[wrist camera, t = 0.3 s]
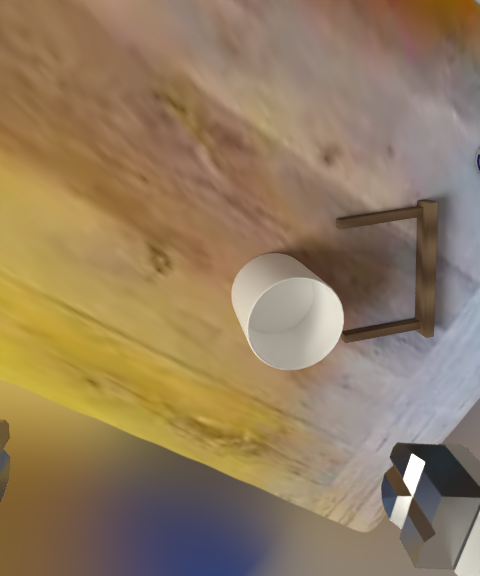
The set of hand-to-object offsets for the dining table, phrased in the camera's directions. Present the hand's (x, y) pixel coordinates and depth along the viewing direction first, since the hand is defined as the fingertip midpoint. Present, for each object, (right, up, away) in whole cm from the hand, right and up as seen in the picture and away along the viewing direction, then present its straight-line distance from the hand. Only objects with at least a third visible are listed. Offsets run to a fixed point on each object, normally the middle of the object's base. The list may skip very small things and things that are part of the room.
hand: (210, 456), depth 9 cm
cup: (+5, +3, +51) cm, 51 cm away
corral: (+21, +6, +53) cm, 57 cm away
